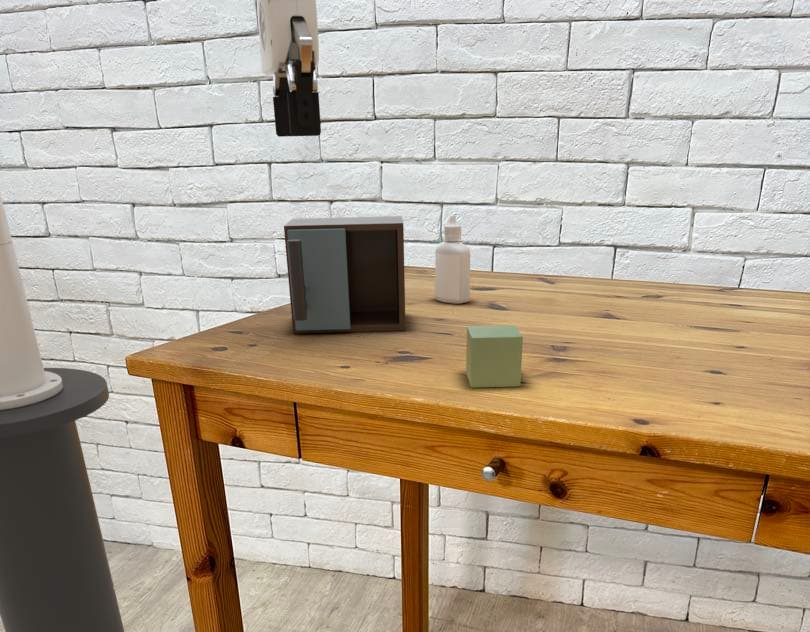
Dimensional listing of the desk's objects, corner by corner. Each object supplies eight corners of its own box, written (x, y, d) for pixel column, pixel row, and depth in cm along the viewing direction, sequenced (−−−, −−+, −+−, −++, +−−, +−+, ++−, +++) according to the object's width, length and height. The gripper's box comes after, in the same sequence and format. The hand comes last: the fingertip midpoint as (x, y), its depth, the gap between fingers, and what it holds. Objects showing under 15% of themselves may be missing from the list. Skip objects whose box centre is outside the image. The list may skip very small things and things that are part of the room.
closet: (405, 330, 100) (403, 223, 93) (293, 333, 99) (283, 225, 93) (404, 316, 108) (402, 215, 101) (300, 318, 107) (291, 218, 101)
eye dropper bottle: (443, 305, 113) (444, 218, 108) (433, 298, 118) (432, 214, 113) (471, 303, 114) (473, 216, 109) (460, 296, 119) (461, 213, 113)
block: (520, 386, 77) (523, 336, 74) (470, 387, 77) (471, 337, 74) (513, 372, 81) (515, 325, 79) (466, 374, 81) (466, 326, 79)
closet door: (348, 339, 93) (342, 234, 88) (290, 341, 93) (281, 235, 88) (350, 327, 99) (345, 228, 93) (296, 329, 99) (287, 229, 93)
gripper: (236, -41, 83) (253, 137, 91) (256, -79, 69) (275, 136, 77) (304, -39, 85) (315, 135, 93) (338, -75, 71) (348, 135, 79)
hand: (297, 136), depth 85 cm, fingers open, 9 cm apart
